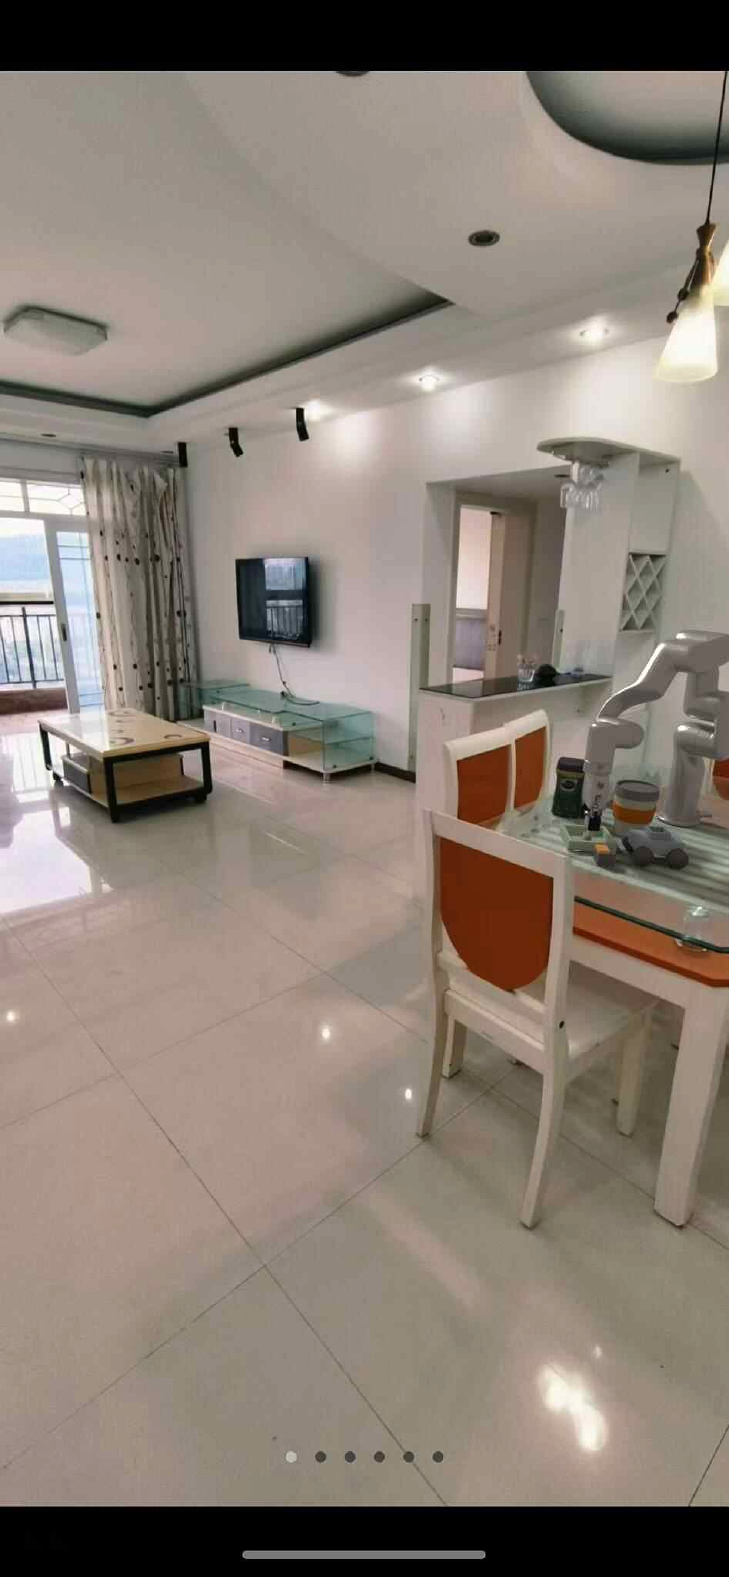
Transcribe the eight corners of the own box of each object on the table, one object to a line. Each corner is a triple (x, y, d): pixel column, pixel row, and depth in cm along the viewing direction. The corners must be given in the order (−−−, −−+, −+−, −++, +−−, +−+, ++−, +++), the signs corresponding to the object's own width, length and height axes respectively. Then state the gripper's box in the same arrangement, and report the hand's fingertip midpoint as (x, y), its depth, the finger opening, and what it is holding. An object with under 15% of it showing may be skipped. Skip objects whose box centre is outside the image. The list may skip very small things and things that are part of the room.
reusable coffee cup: (624, 843, 191) (632, 793, 187) (599, 827, 203) (606, 780, 198) (661, 839, 195) (670, 791, 190) (634, 824, 206) (642, 778, 201)
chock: (609, 860, 179) (612, 845, 178) (613, 866, 176) (616, 851, 174) (593, 859, 180) (595, 844, 178) (596, 865, 176) (599, 850, 175)
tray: (603, 835, 196) (605, 826, 195) (615, 853, 184) (617, 843, 183) (558, 833, 197) (560, 823, 196) (567, 850, 185) (569, 840, 184)
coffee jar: (583, 812, 214) (591, 757, 209) (579, 820, 208) (587, 763, 202) (552, 807, 218) (560, 753, 213) (548, 814, 212) (555, 758, 206)
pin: (591, 838, 192) (595, 809, 189) (594, 843, 188) (598, 814, 186) (578, 838, 192) (582, 809, 189) (581, 842, 189) (585, 813, 186)
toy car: (671, 850, 187) (676, 822, 184) (687, 869, 175) (693, 839, 173) (620, 847, 188) (624, 819, 185) (633, 866, 176) (638, 836, 174)
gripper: (620, 776, 175) (610, 836, 180) (603, 758, 191) (595, 814, 196) (591, 775, 175) (582, 835, 181) (577, 757, 191) (569, 813, 197)
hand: (589, 824), depth 188 cm, fingers open, 9 cm apart
